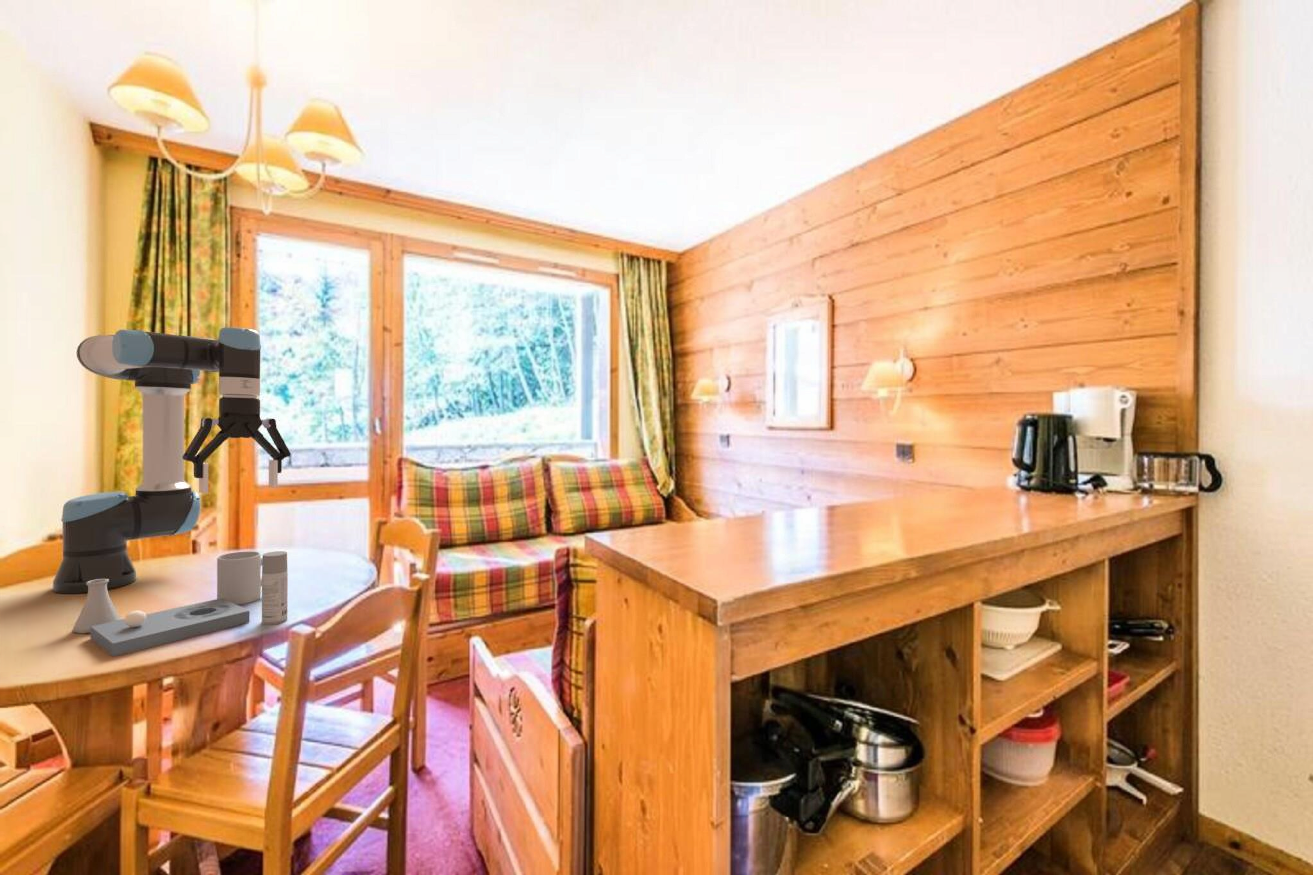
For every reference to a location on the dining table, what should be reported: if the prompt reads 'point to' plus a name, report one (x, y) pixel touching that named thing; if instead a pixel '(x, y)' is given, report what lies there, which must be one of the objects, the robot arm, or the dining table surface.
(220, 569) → the mug
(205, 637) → the dining table surface
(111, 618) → the flask
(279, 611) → the container
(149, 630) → the plate
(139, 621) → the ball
